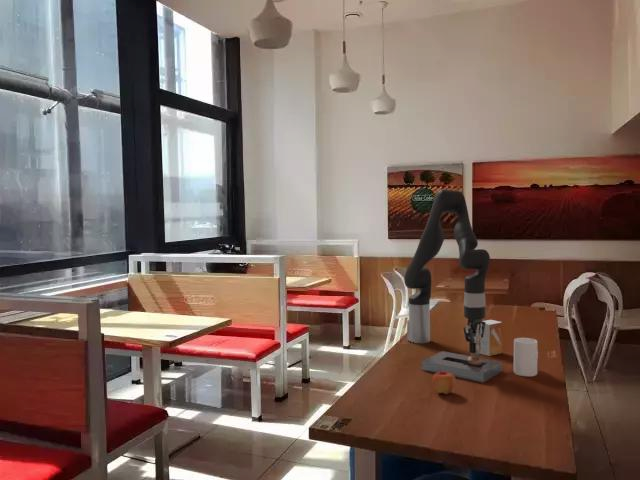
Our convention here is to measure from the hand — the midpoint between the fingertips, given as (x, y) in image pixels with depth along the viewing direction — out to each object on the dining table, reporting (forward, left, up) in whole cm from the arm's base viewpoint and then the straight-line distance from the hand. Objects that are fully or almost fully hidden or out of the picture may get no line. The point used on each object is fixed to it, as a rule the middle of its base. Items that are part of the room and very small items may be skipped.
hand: (474, 351), depth 194 cm
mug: (+14, +13, -8) cm, 21 cm away
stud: (0, 0, -4) cm, 4 cm away
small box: (-6, +28, -8) cm, 30 cm away
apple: (+1, -25, -8) cm, 26 cm away
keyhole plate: (-5, 0, -8) cm, 10 cm away
